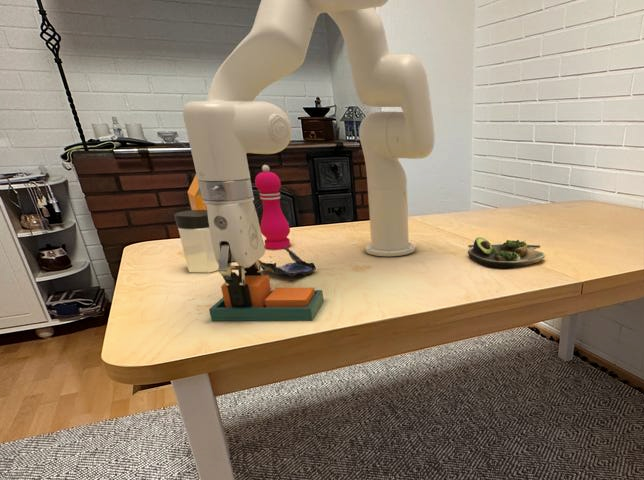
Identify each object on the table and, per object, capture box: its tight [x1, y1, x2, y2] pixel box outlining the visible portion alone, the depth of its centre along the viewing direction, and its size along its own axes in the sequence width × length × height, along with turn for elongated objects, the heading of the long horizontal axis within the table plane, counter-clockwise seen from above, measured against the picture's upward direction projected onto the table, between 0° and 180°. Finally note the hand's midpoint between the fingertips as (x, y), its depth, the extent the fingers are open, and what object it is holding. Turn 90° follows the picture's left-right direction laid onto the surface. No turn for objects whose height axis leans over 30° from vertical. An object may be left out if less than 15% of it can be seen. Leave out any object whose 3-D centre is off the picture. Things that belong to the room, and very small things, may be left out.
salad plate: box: [467, 236, 546, 269], centre depth 114 cm, size 19×18×5 cm
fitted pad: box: [265, 286, 316, 307], centre depth 81 cm, size 7×7×2 cm
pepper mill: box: [254, 164, 291, 250], centre depth 119 cm, size 7×7×20 cm
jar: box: [173, 209, 219, 274], centre depth 103 cm, size 9×8×12 cm
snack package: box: [259, 246, 317, 281], centre depth 100 cm, size 12×6×12 cm
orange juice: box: [187, 173, 207, 210], centre depth 112 cm, size 8×9×20 cm
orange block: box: [220, 274, 272, 308], centre depth 81 cm, size 6×6×4 cm
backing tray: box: [208, 289, 325, 322], centre depth 82 cm, size 10×17×2 cm, turn 92°
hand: (248, 299), depth 81 cm, fingers closed on orange block, 5 cm apart
